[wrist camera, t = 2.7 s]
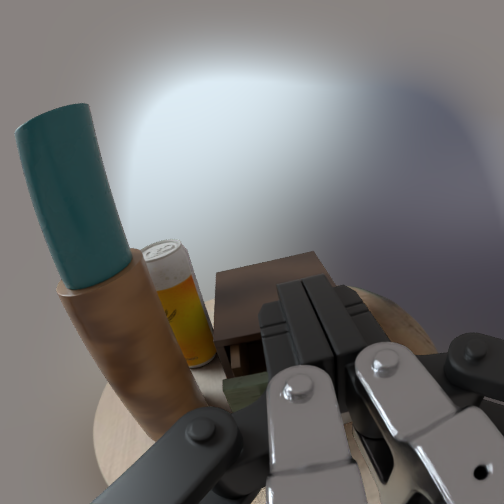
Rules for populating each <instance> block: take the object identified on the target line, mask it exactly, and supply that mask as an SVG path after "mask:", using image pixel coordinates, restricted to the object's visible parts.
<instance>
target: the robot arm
mask: <svg viewBox="0 0 504 504" xmlns="http://www.w3.org/2000/svg"><path fill="white" fill-rule="evenodd" d="M276 288H277V293H278V298H279V300H278V301H274V302H270V303H265V304H263V305H262V307H261V309H260V311H259V314H258V320H259V326H260V331H261V337H262V343H263V349H264V355H265V360H266V366H267V372H268V385H267V387H266V389H265V391H264V393H263V394H262V395H261V397H260V398H258V399H257V400H256V401H255V402H253V403H252V404H250V405H248V406H247V407H245V408H242V409H240V410H238V411H236V412H233V413H231V414H230V413H229V412H227V411H225V410H224V409H221V408H217V407H201V408H197V409H194V410H191V411H189V412H187V413H186V414H184V415H183V416H182V417H181V418H180V419H178V421H177V422H176V423H175V424H174V425H173V426H172V427H171V428H170V429H169V430H168V431H167V432H166V433H165V434H164V435H163V436H162V437H161V438H160V439H159V440H158V441H157V442H156V443H155V444H154V445H152V446H151V447H150V448H149V449H148V450H147V451H146V452H145V453H144V454H143V455H142V456H141V457H140V458H139V459H138V460H137V461H136V462H135V463H134V464H133V465H132V466H131V467H130V468H129V469H127V470H126V471H125V472H124V473H123V474H122V475H121V476H120V477H119V478H118V479H117V480H116V481H115V482H113V483H112V484H111V485H110V486H109V487H108V488H107V489H106V490H105V491H103V493H101V494H100V495H99V496H98V497H97V498H96V499H94V500H93V501H92V502H91V503H90V504H251V502H252V501H253V500H254V498H255V497H256V496H257V495H258V493H259V492H260V490H261V488H263V487H265V486H266V504H368V502H367V498H366V494H365V489H364V485H363V481H362V477H361V473H360V470H359V467H358V464H357V462H356V460H355V459H353V458H352V456H351V453H350V449H349V445H348V441H347V437H346V433H345V429H344V425H343V421H342V417H341V414H342V413H345V412H349V414H350V417H351V419H352V422H353V424H352V434H353V437H354V439H355V441H356V443H357V445H358V447H359V449H360V451H361V453H362V456H363V458H364V460H365V462H366V464H367V466H368V468H369V470H370V472H371V475H372V477H373V479H374V481H375V483H376V485H377V488H378V491H379V495H380V503H381V504H504V405H501V404H497V403H494V402H491V401H487V400H484V399H483V398H484V396H486V397H489V398H492V399H496V400H499V401H503V402H504V340H502V339H499V338H495V337H491V336H488V335H484V334H480V333H465V334H462V335H460V336H458V337H456V338H455V339H454V340H453V341H452V342H451V344H450V347H449V350H448V352H447V353H439V354H431V355H414V354H413V353H412V352H411V351H410V350H409V349H408V348H407V347H405V346H403V345H401V344H398V343H394V342H391V341H390V340H389V338H388V337H387V335H386V334H385V332H384V331H383V330H382V328H381V327H380V325H379V324H378V322H377V321H376V319H375V318H374V316H373V315H372V314H371V312H370V311H369V310H368V308H367V307H366V305H365V304H364V303H363V301H362V299H361V298H360V297H359V295H358V294H357V292H356V291H354V290H352V289H351V288H349V287H347V286H345V285H340V286H336V287H332V285H331V284H330V282H329V280H328V279H327V277H326V276H325V274H324V273H323V274H318V275H314V276H310V277H306V278H302V279H301V280H299V279H298V280H293V281H289V282H285V283H280V284H276Z"/></svg>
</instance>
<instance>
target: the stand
mask: <svg viewBox="0 0 504 504" xmlns="http://www.w3.org/2000/svg"><path fill="white" fill-rule="evenodd" d="M130 250H131V253H132V260H131V262H130V263H129V264H128V266H127V267H125V268H124V269H123V270H122V271H120V272H119V273H118V274H116V275H114V276H113V277H111V278H109V279H107V280H105V281H103V282H101V283H99V284H96V285H94V286H91V287H87V288H83V289H77V290H71V289H67V288H66V287H65V285H64V283H63V281H62V279H61V281H60V282H59V283H58V285H57V289H56V290H57V293H58V295H59V298H60V300H61V302H62V303H63V306H64V308H65V309H66V311H67V313H68V315H69V317H70V319H71V321H72V323H73V325H74V326H75V328H76V330H77V331H78V334H79V335H80V337H81V339H82V341H83V342H84V344H85V346H86V347H87V349H88V351H89V353H90V354H91V356H92V357H93V359H94V360H95V362H96V364H97V365H98V367H99V368H100V370H101V372H102V373H103V375H104V376H105V378H106V379H107V381H108V382H109V384H110V385H111V387H112V388H113V390H114V391H115V393H116V394H117V395H118V397H119V398H120V400H121V401H122V402H123V404H124V405H125V406H126V408H127V409H128V411H129V412H130V413H131V414H132V416H133V417H134V418H135V420H136V421H137V422H138V424H139V425H140V426H141V427H142V429H143V430H144V431H145V432H146V434H147V435H148V436H149V437H150V438H151V439H153V440H154V441H156V442H157V441H158V440H159V439H160V438H161V437H162V436H163V435H164V434H165V433H166V432H167V431H168V430H169V429H170V428H171V427H172V426H173V425H174V424H175V423H176V422H177V421H178V419H180V418H181V417H182V416H183V415H184V414H186V413H187V412H189V411H191V410H194V409H197V408H201V407H208V405H207V402H206V400H205V399H204V397H203V395H202V393H201V391H200V389H199V386H198V384H197V382H196V380H195V378H194V376H193V374H192V372H191V370H190V368H189V366H188V364H187V361H186V359H185V357H184V355H183V353H182V350H181V348H180V346H179V344H178V342H177V339H176V337H175V335H174V332H173V330H172V328H171V325H170V323H169V321H168V318H167V316H166V313H165V311H164V309H163V306H162V304H161V301H160V299H159V296H158V294H157V291H156V289H155V286H154V283H153V281H152V278H151V276H150V273H149V270H148V267H147V265H146V262H145V259H144V256H143V254H142V252H141V251H140V250H138V249H134V248H130Z"/></svg>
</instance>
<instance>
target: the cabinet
mask: <svg viewBox="0 0 504 504" xmlns="http://www.w3.org/2000/svg"><path fill="white" fill-rule="evenodd" d="M323 273H324V274H325V276H326V277H327V279H328V280H329V282H330V284H331V285H332V287H336V285H335V283H334V281H333V280H332V278H331V277H330V275H329V274H328V272H327V271H326V269H325V268H324V266H323V265H322V263H321V262H320V260H319V259H318V257H317V256H316V254H315V253H314V251H311V252H307V253H303V254H298V255H294V256H289V257H285V258H280V259H276V260H272V261H267V262H262V263H258V264H253V265H249V266H244V267H240V268H235V269H231V270H226V271H222V272H217V273H216V287H215V308H214V333H213V342H214V345H215V347H216V351H217V353H218V356H219V359H220V361H221V364H222V366H223V369H224V372H225V374H226V377H227V379H230V378H235V377H234V375H233V372H232V369H231V350H230V345H233V344H238V343H243V342H248V341H253V340H258V339H262V337H261V331H260V326H259V320H258V314H259V311H260V309H261V307H262V305H263V304H265V303H270V302H274V301H278V300H279V298H278V293H277V288H276V284H280V283H285V282H289V281H293V280H298V279H299V280H301V279H302V278H306V277H310V276H314V275H318V274H323Z"/></svg>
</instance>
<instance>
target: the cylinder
mask: <svg viewBox="0 0 504 504" xmlns="http://www.w3.org/2000/svg"><path fill="white" fill-rule="evenodd" d="M15 138H16V143H17V147H18V152H19V156H20V160H21V165H22V168H23V172H24V176H25V179H26V183H27V187H28V190H29V193H30V197H31V200H32V203H33V206H34V209H35V212H36V215H37V218H38V221H39V224H40V226H41V229H42V232H43V235H44V238H45V240H46V243H47V245H48V248H49V251H50V253H51V256H52V258H53V260H54V263H55V265H56V267H57V270H58V272H59V274H60V277H61V279H62V281H63V283H64V285H65V287H66V288H67V289H71V290H77V289H83V288H87V287H91V286H94V285H96V284H99V283H101V282H103V281H105V280H107V279H109V278H111V277H113V276H114V275H116V274H118V273H119V272H120V271H122V270H123V269H124V268H125V267H127V266H128V264H129V263H130V262H131V260H132V253H131V250H130V247H129V245H128V242H127V239H126V236H125V233H124V230H123V227H122V224H121V221H120V218H119V215H118V212H117V209H116V206H115V203H114V199H113V196H112V193H111V189H110V186H109V183H108V180H107V176H106V172H105V169H104V165H103V161H102V157H101V153H100V150H99V146H98V142H97V138H96V134H95V129H94V125H93V121H92V116H91V111H90V106H89V105H88V104H84V103H80V104H72V105H67V106H63V107H60V108H56V109H53V110H51V111H48V112H46V113H43V114H41V115H39V116H36V117H34V118H32V119H31V120H29V121H27V122H26V123H24V124H23V125H21V126H20V127H19V128H18V129H17V130H16V131H15Z"/></svg>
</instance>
